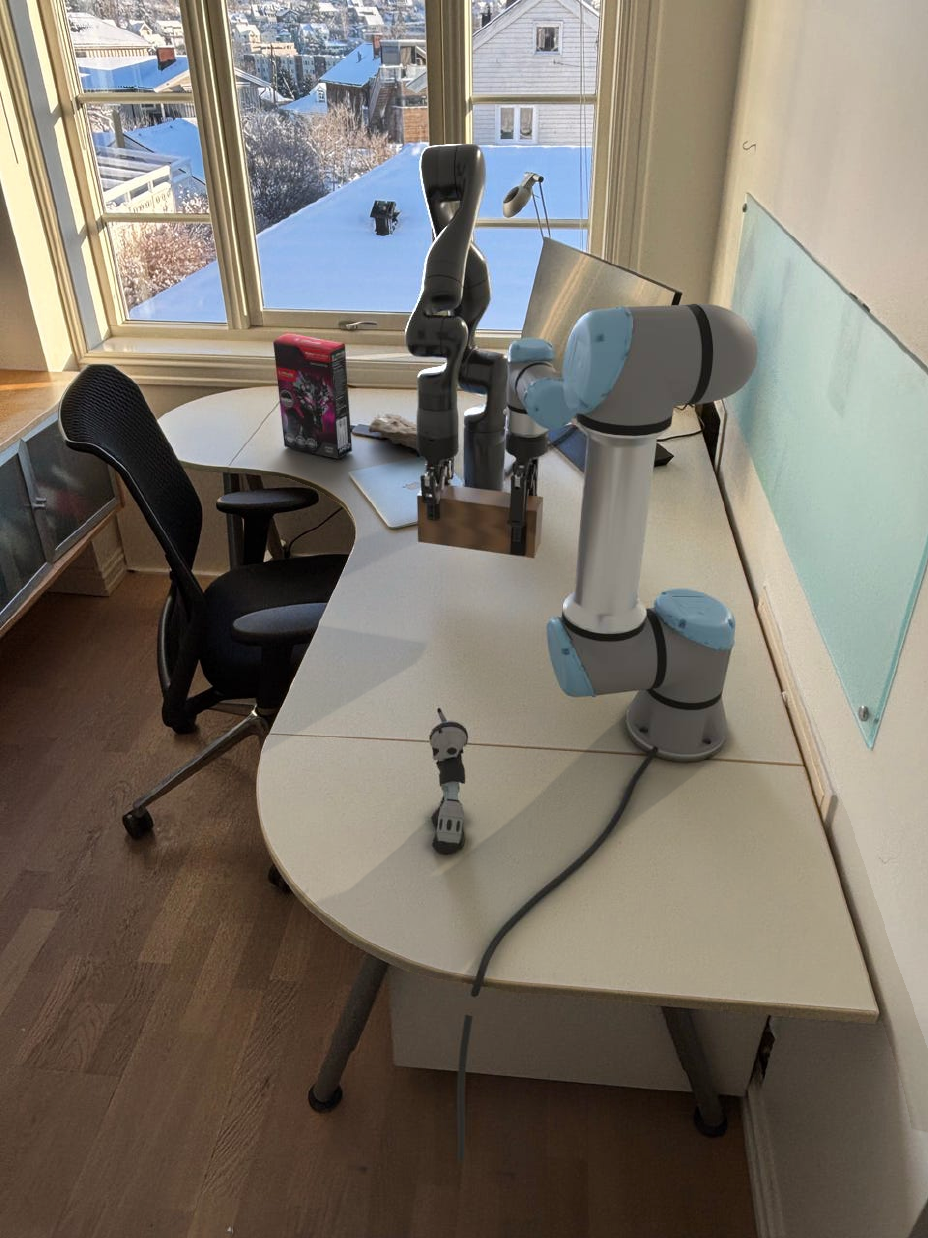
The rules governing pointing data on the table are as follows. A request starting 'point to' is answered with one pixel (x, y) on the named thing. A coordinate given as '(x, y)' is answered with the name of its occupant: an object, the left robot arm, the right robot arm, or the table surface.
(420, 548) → the table surface
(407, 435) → the stone
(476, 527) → the box
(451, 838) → the robot
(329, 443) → the graphics card box
